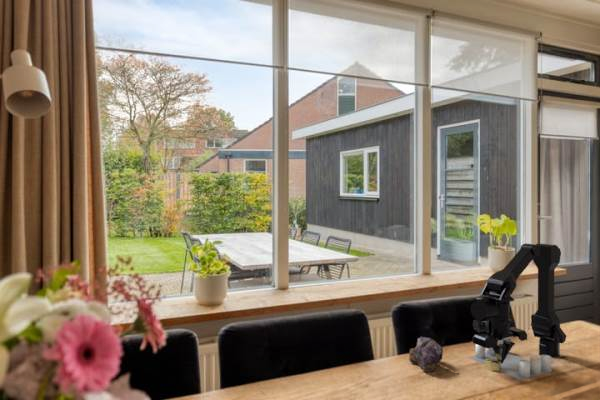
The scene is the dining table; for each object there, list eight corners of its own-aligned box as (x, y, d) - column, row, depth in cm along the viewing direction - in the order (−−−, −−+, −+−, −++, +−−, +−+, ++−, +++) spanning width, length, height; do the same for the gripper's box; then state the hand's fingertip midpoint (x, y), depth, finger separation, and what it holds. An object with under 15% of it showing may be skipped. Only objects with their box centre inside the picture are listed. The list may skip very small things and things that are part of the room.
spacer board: (501, 352, 153) (501, 337, 153) (554, 373, 135) (554, 356, 135) (468, 360, 146) (468, 344, 146) (519, 383, 128) (519, 365, 128)
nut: (491, 364, 140) (491, 356, 140) (504, 370, 135) (504, 362, 135) (481, 366, 138) (481, 359, 138) (494, 372, 134) (494, 364, 134)
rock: (419, 377, 136) (449, 374, 137) (420, 353, 134) (450, 350, 135) (405, 358, 147) (433, 355, 148) (406, 335, 146) (434, 333, 147)
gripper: (499, 306, 149) (499, 350, 149) (459, 313, 141) (460, 359, 141) (528, 314, 139) (528, 361, 139) (487, 322, 131) (487, 372, 131)
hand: (500, 363), depth 138 cm, fingers closed
